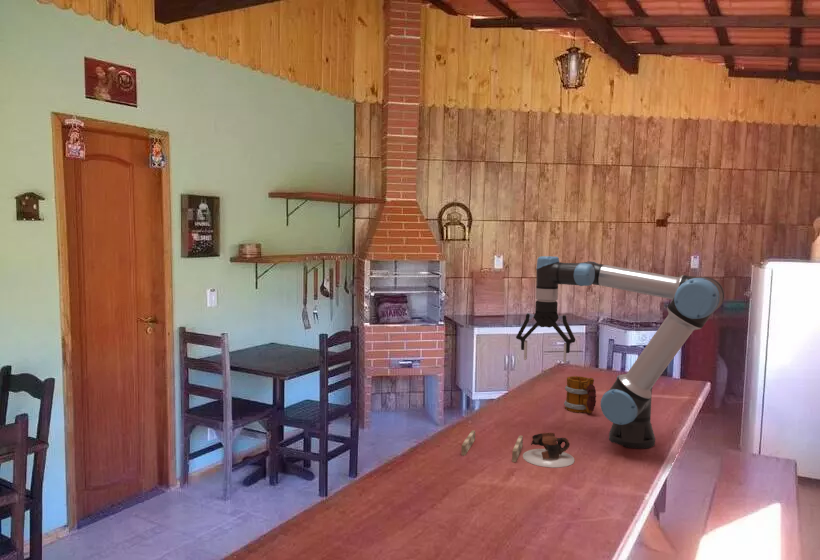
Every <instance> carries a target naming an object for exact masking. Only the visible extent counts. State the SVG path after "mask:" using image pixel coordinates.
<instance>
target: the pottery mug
mask: <svg viewBox="0 0 820 560" xmlns="http://www.w3.org/2000/svg"><path fill="white" fill-rule="evenodd" d="M531 438H532V441H531V442H530V445H531V446H533V445H534V446H541V447H542V446H543V449H546V450H547V451H544V452H542V457H543V459H548V458H559V454H560V455H561V454H562V452H566V451H567V450H568V449H569V447H570V444H571V443H570V442H569V440H568V438H566V437H557V436H556V435H555V432H542V433H537V434H534V435H532V437H531ZM563 443H564V446H563V447H562V446H561V445H562V444H563Z"/></svg>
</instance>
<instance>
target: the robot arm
mask: <svg viewBox="0 0 820 560" xmlns="http://www.w3.org/2000/svg"><path fill="white" fill-rule="evenodd" d="M535 271H536V273H535V274H536V280H535V283H536V286H535V300H536V301H535V311H534V314H533V313H530V312H527V313H526V314H525V320H524V322H523V323H522V325H521V327H520V328H519V331H518V333H517V334H516V336H515V338H516V340H519V341H520V349H521V351H523V360H524V361H526V360H528V340H526V339H528V337H529V336H530V335H531V334H532V333H533V332H534V331H535V330H536V328H538V326H539V327H540V328H553V329H554V330H555V331H556V332H557V333H558V335H559V336H560V337H561V338H562V340H563V341H564V344H563V362H562V363H564V364H565V363H566V362H567V354H569V353H570V350H571V344H572V343H575V342H576V337H575V336H574V333H573V331H572V328H571V327H570V324H569V323H568V321H567V320H568V319H567V315H566V314H563V315H559V314H558V299H559V298H558V297H559V285H565V286H569V285H570V286H579V287H584V286H585V287H589V286H591V285H595V286H602V287H605V288H606V287H607V288H612V289H617V290H622V291H626V292H627V291H628V292H631V293H638V294H642V295H648V296H653V297H658V298H662V299H663V298H664V299H668V300H671V301H670V302H669V304H668V305H667V307H666V309H667V313H668V315H667V316H666V317H665V319H664V320H663V322H662V323H661V324H660V326H659V328H658V329H657V330H656V331H655V333H654V335H653V336H652V337H651V339H650V340H649V342H648V343H647V344H646V345H645V347H644V348H643V350H642V351H641V353H640V354H639V356H638V357H637V358H636V360H635V361H634V363H633V364H632V366H631V367H630V368H629V369H628V371H627V373H624V374H619V375H617V377H616V380H615V382H613V384H612V385H611V387H610V389H609V390H607V391H605V392H604V393H603V394H602V397H601V399H600V409H601V413H602V414H603V416H604V417H605V419H607V420H608V421H610V422H611V423H612V425H611V427H610V430H609V431H608V432H609V433H608V439H609V441H610V443H614V444H617V445H620V446H622V447H624V448H629V449H630V448H631V449H638V450H640V449H649V448H650V449H651V448H653V447H655V445H656V436H655V433H654V429H653V426H652V422H651V421H652V420H651V417H652V416H651V414H652V395H653V386H654V385H655V384H656V383H657V381H658V380H659V378H660V377H661V376H662V374H663V373H664V371H665V370H666V369H667V367H668V366H669V364H670V363H671V362H672V360H673V359H674V357H676V355H677V354H678V353H679V351H680V349H682V347H683V345H684V344H685V343H686V341H687V340H688V339H689V337H690V335H692V333H693V332H694V331H697V330H701V329H703V327H704V326H705V325H706V323H707V322H708V321H709V319H710V317H712V315H713V314H714V312H715V311H717V310H718V309H719V308H720V307H721V306H722V305H723V302H724V300H725V291H724V287H723V286H722V284H721V283H720V282H719V281H718V280H716V279H715V278H712V277H710V276H694V275H685V274H682V275H681V276H672V275H667V274H662V273H661V274H660V273H654V272H651V271H644V270H638V269H631V268H626V267H621V266H614V265H608V264H602V263H599V262H595V261H590V260H588V261H584V262H560V259H559V256H550V255H547V256H546V255H543V256H542V255H541V256H539V257H538V258H537V260H536V267H535ZM532 319H534V320H535V323H534V324H533V326H531V328H530V329H529V330H528V331H527V332H526V333H525V334H524V335H523V333H524V331H525V329H526V327H527V326H528V325H529V322H530V321H531V320H532ZM558 320H559V321H560V322H562V324H563V326H564V328H565V330H566V332H567V334H568V336H569V338H568V336H567V335H566V334H565V332H564V331H563V330H562V329H561V328H560V326H559V325H558V324H557V321H558ZM522 335H523V336H522Z"/></svg>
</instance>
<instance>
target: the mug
mask: <svg viewBox="0 0 820 560" xmlns="http://www.w3.org/2000/svg"><path fill="white" fill-rule="evenodd" d="M594 381H595V380H594V378H593V377H584V376H580V375H579V376H578V375H575V376H574V375H573V376H567V377H566V386H565V388H564V389H565V391H566V397H565V398H566V399H565V400H564V402H563V405H564V407H565V408H564V409H565V411H569V412H571V413H577V414H586V413H587V414H590V415H591V414H592V413H593V411H594V409H595V407H596V404H597V391H596V387H595V385H594Z"/></svg>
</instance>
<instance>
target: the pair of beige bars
mask: <svg viewBox="0 0 820 560" xmlns="http://www.w3.org/2000/svg"><path fill="white" fill-rule="evenodd" d="M523 437H524V436H523V435H518V437H517V439H516V442H515V444H514V447H513V448H512V452H511V455H512V460H511V462H512V463H516V462H517V461H518V458H519V456H520V453H521V452H522V448H523V445H524V444H523V443H524V442H523V441H524V440H523V439H524V438H523ZM475 440H476V430H475V429H474V430H473V429H472V430H471V431H470V433H469V434H468V435H467V437H466V438H465V439H464V441H463V443H462V444H461V456H464V457H465V456H467V453H468V452H469V450H470V449H471V447H472V445H473V444H474V442H475Z"/></svg>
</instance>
